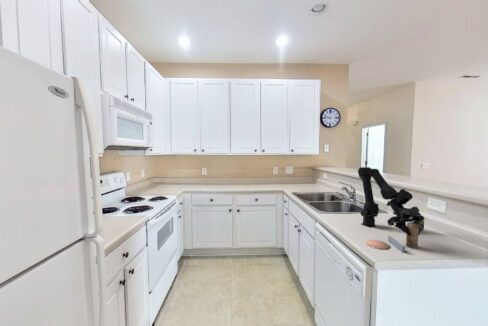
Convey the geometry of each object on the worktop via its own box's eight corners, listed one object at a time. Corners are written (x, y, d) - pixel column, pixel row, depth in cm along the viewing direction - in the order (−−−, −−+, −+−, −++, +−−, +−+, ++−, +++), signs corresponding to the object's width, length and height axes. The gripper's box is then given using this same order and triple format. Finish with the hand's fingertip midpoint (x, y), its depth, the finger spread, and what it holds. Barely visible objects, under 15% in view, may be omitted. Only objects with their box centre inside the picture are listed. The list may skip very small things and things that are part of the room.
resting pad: (364, 239, 131) (364, 238, 131) (386, 242, 127) (386, 241, 127) (367, 247, 121) (367, 246, 121) (391, 250, 117) (391, 249, 117)
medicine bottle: (415, 232, 142) (416, 213, 141) (404, 228, 148) (405, 210, 148) (423, 231, 143) (424, 212, 143) (412, 227, 150) (413, 209, 150)
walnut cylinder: (403, 245, 124) (404, 223, 123) (409, 243, 126) (410, 222, 125) (413, 249, 119) (415, 226, 118) (419, 247, 121) (421, 225, 120)
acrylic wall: (387, 241, 129) (387, 235, 129) (389, 241, 129) (390, 235, 129) (402, 252, 115) (402, 246, 115) (404, 252, 115) (404, 246, 115)
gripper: (392, 201, 123) (409, 229, 113) (422, 200, 126) (441, 227, 116) (380, 212, 132) (395, 238, 122) (409, 210, 134) (426, 236, 124)
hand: (414, 235), depth 121 cm, fingers closed on walnut cylinder, 5 cm apart
